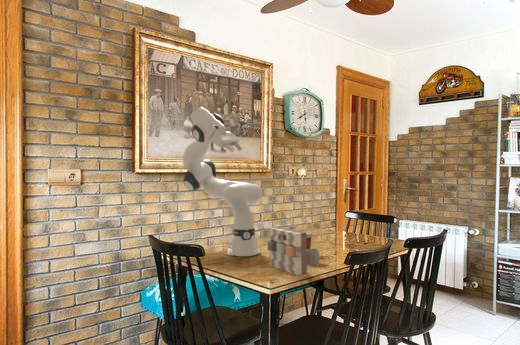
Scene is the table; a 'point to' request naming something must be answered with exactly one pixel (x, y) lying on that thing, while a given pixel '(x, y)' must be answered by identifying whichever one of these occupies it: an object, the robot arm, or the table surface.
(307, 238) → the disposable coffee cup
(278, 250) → the sage key
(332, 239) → the table surface
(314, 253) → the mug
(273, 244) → the charcoal key
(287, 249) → the terracotta key
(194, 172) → the robot arm
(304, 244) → the keypad panel
